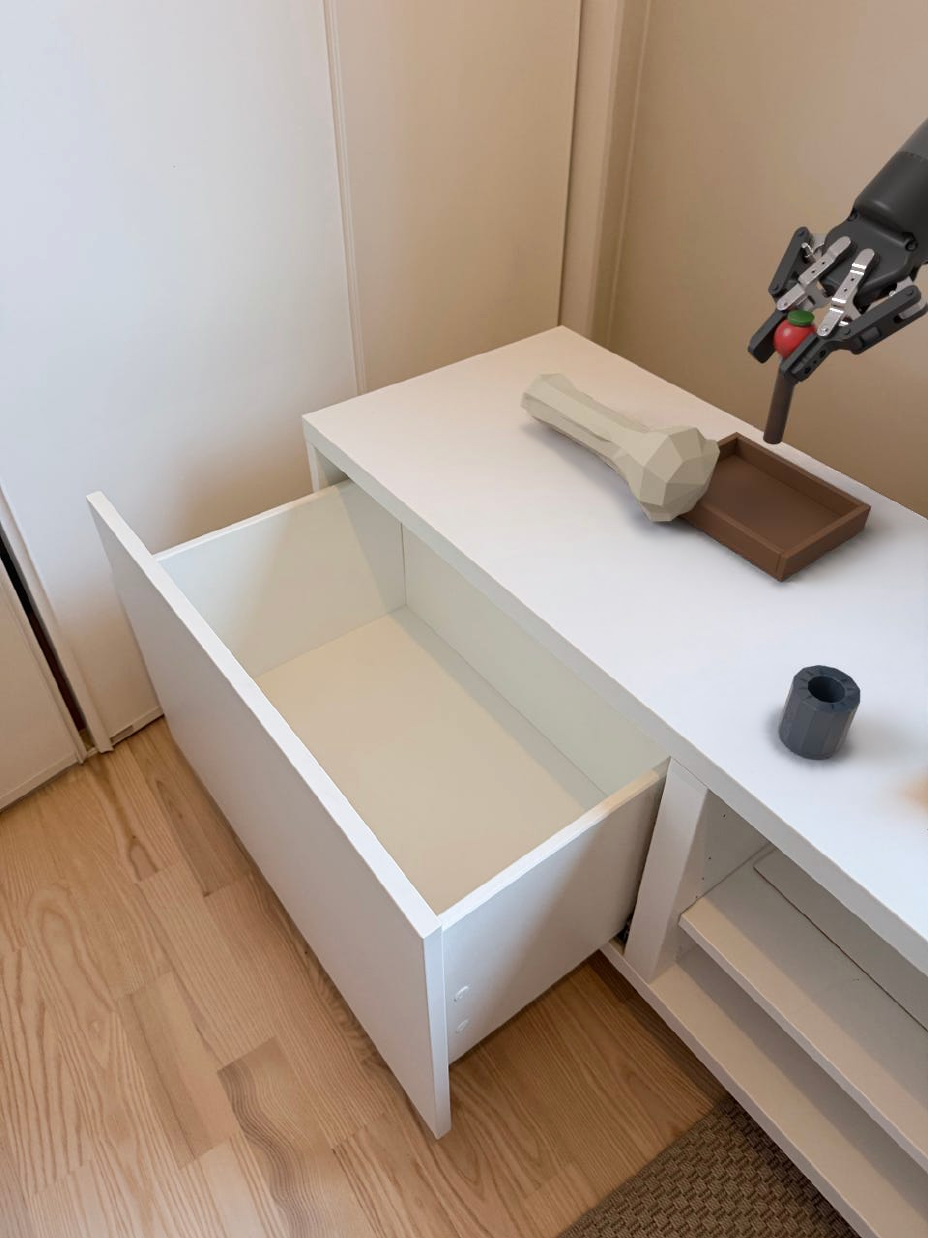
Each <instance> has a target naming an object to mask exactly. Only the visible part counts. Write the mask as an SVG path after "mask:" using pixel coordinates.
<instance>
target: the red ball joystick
mask: <svg viewBox="0 0 928 1238" xmlns="http://www.w3.org/2000/svg"><path fill="white" fill-rule="evenodd" d="M815 319H816V317H815V314H814V313H813V312H812V313H810V312H808V311H804V310H794V311H791V312H789V314H788V317H787V319H786V320H784V321H783V322H782V323H781V324H780V325H779V326H778V327H777V329H776V331H775V334H774V347H775V349H776V351H775V352H776V353H777V354H778V355H779V356H778V359H777V363H779V365H778V369H777V371H778V370H779V368H780V366H781V365H782V364H783V363H784V362H785V361H786V360H787V358H788V357H789V356H790V355H791V354H792V353H793V352H794V351H795V350H796V348H797V347H798V346H799V345H800V344H801V343H802V342H803V341H804V340H805V338H806V337H807V336H808V335H809V334H810V333H813V334H815V335H816V334H817V328H818V326H817V324H816V323H815ZM795 387H796V385H794V386H792V385H790V384H789V383H788V382H786V381H785V380H784V379H783V378H782V377H781V375H780V374H779V373H778V372H777V373H776V377H775V382H774V386H773V391H772V395H771V400H770V403H769V409H768V413H767V418H766V422H765V426H764V431H763V435H762V440H763V442H764V443H766V444H768V445H780V444H781V443H782V441H783V438H784V433H785V429H786V425H787V422H788V417H789V413H790V409H791V406H792V400H793V398H794V393H795V389H796V388H795Z"/></svg>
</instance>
